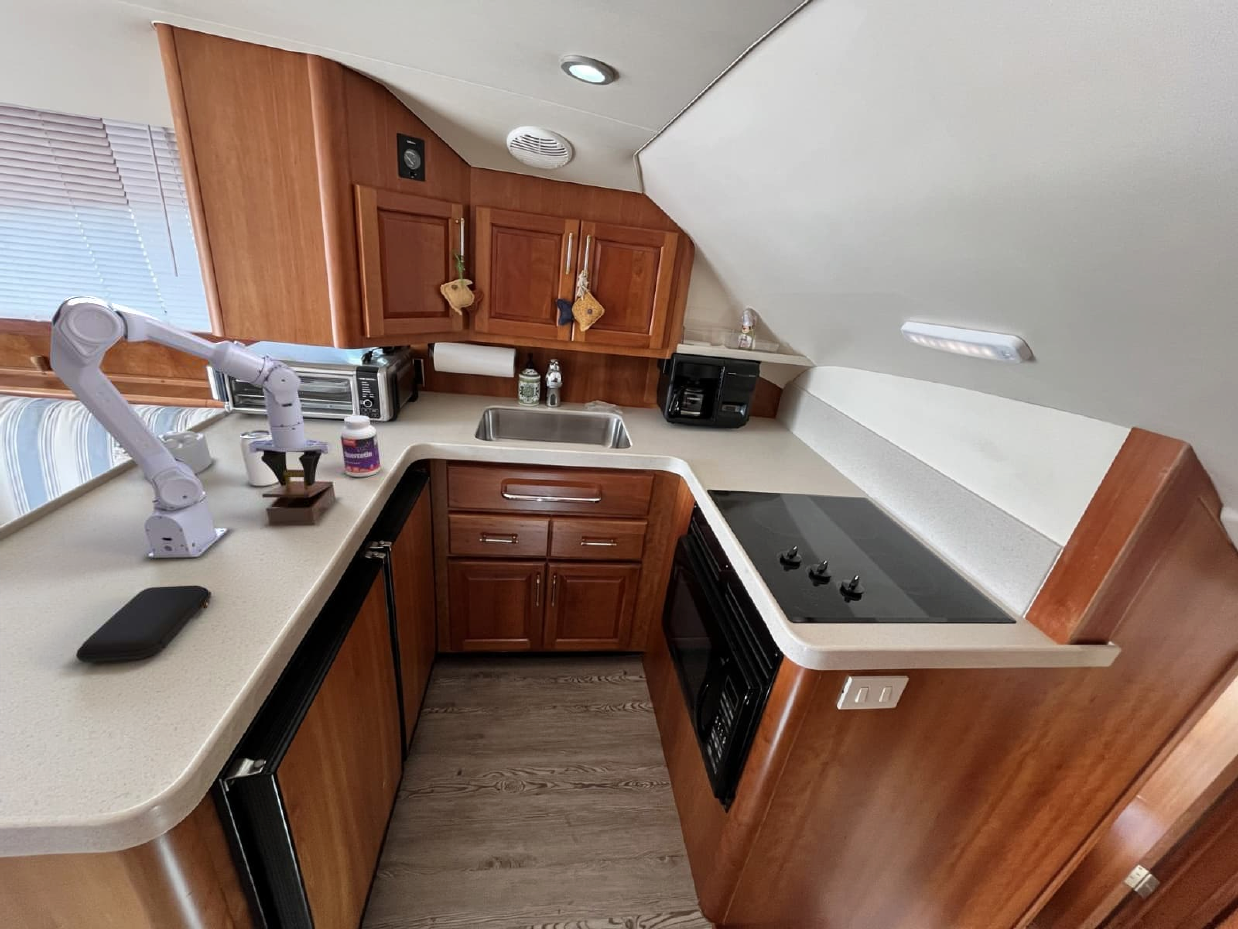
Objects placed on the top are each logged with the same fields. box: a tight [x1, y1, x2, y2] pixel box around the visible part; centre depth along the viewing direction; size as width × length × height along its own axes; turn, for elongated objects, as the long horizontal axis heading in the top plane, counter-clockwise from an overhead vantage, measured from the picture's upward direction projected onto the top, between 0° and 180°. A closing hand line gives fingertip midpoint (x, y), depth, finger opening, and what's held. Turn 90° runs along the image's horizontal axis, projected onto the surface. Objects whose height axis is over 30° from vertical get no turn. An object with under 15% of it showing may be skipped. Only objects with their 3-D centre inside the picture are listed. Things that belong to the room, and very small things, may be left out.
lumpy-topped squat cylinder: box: [156, 430, 213, 475], centre depth 117 cm, size 10×13×9 cm
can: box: [239, 429, 279, 487], centre depth 115 cm, size 6×6×12 cm
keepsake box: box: [265, 484, 337, 525], centre depth 105 cm, size 11×9×4 cm
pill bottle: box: [339, 414, 381, 478], centre depth 123 cm, size 8×8×14 cm
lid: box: [261, 468, 334, 498], centre depth 103 cm, size 12×9×5 cm
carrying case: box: [76, 584, 212, 664], centre depth 72 cm, size 11×3×15 cm
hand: (298, 483), depth 103 cm, fingers closed on lid, 4 cm apart
